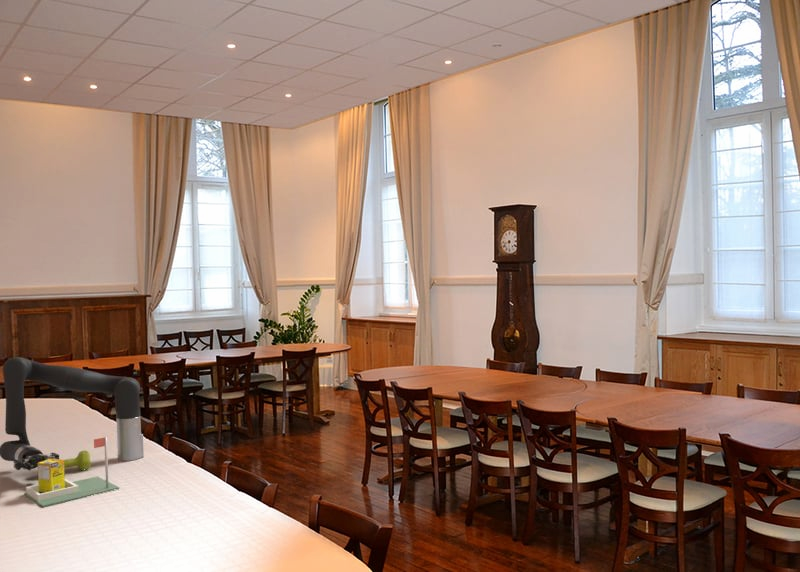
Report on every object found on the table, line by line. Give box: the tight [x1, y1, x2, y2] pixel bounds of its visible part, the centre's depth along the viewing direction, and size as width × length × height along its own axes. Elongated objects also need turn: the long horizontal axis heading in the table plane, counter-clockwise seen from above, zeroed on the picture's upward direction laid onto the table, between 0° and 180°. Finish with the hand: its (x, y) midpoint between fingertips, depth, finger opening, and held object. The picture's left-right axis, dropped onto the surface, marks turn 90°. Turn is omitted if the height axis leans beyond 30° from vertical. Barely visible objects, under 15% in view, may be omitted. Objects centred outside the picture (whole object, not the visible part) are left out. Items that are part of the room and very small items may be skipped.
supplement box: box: [37, 458, 66, 494], centre depth 236 cm, size 6×6×11 cm
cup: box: [23, 436, 120, 508], centre depth 238 cm, size 25×20×19 cm
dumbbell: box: [63, 450, 91, 471], centre depth 262 cm, size 16×8×7 cm, turn 126°
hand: (43, 464), depth 242 cm, fingers open, 8 cm apart
